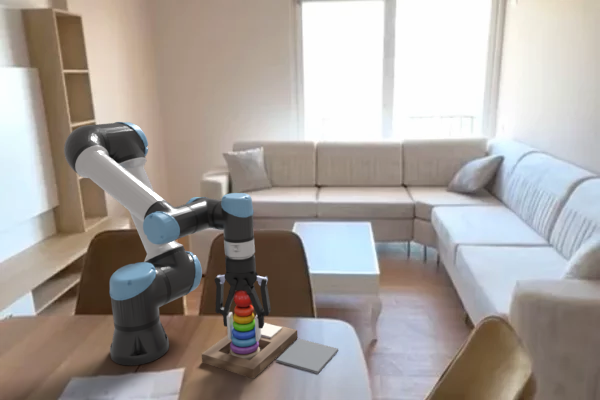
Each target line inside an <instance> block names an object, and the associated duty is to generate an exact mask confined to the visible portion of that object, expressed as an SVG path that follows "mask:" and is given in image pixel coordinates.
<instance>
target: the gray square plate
mask: <svg viewBox="0 0 600 400" xmlns="http://www.w3.org/2000/svg"><path fill="white" fill-rule="evenodd" d="M338 352H339V348H337V347H334V346H328V345H325V344H321V343H318V342H314V341H309V340H306V339H301V338H297V339H296V340H295V341H294V342H293V343H292V344H291V345H290V346H289V347H287V348H286V349H285V350H284V351H283V352H282V353H281V354H280V355H279V356H278V357H277V358H275V360H276V362H277V363H280V364H283V365H288V366H290V367H294V368H297V369H301V370H305V371H307V372H308V371H309V372H312V373H315V374H319V373H320V372H321V370H323V369H324V367H325V366H326V365H327V364H328V363H329V362H330V361H331V360H332V358H333V357H334V356H335V355H336V354H337V353H338Z"/></svg>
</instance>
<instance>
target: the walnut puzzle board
mask: <svg viewBox="0 0 600 400" xmlns="http://www.w3.org/2000/svg"><path fill="white" fill-rule="evenodd" d="M298 339H299V338H298V329H295V328H291V327H287V326H282V325H278V324H274V323H270V322H267V321H264V326H263V328H261V338H260V340H259V341H258V342H259V348H260V352H259V353H258V354H257V355H256V356H254V357H253V358H252V359H251V360H247V359H243V358H240V357H237V356H233V355H230V350H231V348H230V344H231V342H232V340H228V334H226V335H225V336H223V337H222V338H221V339H220V340H218V341H217V342H215V343H214V344H212V345H211V346H210V347H209V348H207V349H206V350H205V351H203V352H202V353H201V363H203V364H206V365H210V366H211V367H215V368H218V369H222V370H225V371H227V372H228V371H229V372H231V373H234V374H237V375H240V376H244V377H248V378H251V379H255V378H256V377H257V376H258V375H259V374H260V373H262V372H263V370H265V368H267V367H268V366H270V364H271V363H272V362H273V361H275V360H276V359H277V358H278V357H280V356H281V355H282V354H283V353H284V352H285V351H286V350H287V349H288V348H289V347H290V346H291V345H293V344H294V343H295V342H296V341H297V340H298Z"/></svg>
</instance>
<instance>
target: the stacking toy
mask: <svg viewBox="0 0 600 400" xmlns="http://www.w3.org/2000/svg"><path fill="white" fill-rule="evenodd" d="M233 301H234V304H235V305H236V306H235V307H234V310H233V311H234V314H233V330H232V334H233V335H232V338H231V340H232V342H231V344H230V348H231V350H230V351H229V354H230V355H233V356H237V357H240V358H243V359H247V360H251V359H252V358H253V357H254V356H256V355H257V354H258V353H259V352H260V351H261V348H260V347H259V342H258V341H256V333H255V313H254V312H255V311H254V310H255V309H254V307H253V304H252V302H251V299H250V297H249V295H248V294H247V292H246V291H243V290H238V291H236V292H235V294H234V298H233Z"/></svg>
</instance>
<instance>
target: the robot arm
mask: <svg viewBox="0 0 600 400" xmlns="http://www.w3.org/2000/svg"><path fill="white" fill-rule="evenodd" d="M148 147H149V142H148V138H147V135H146V134H145V132H144V131H143V130H142V128H141V127H140V126H139V125H137V124H134V123H133V122H128V121H126V122H123V121H116V122H111V123H110V122H109V123H100V124H86V125H82V126H81V125H80V126H79V127H76V129H73V130H72V131H71V132H70V134H69V135H68V136H67V138H66V139H65V143H64V147H63V155H64V157H65V160H66V163H67V164H68V165H69V166H68V167H70V169H72V170H73V172H75V173H76V174H77V175H78V176H79V177H81V178H84V179H89V180H91V181H92V182H93V183H94V184H96V185H97V186H98V187H99V188H101V190H103V191H105V192H106V193H107V194H108V195H109V196H110V197H112V198H113V200H116V202H118V203H119V204H120V205H121V206H122V207H124V208H125V209H127V211H128V213H129V215H130V217H131V219H132V221H133V224H134V226H135V228H136V230H137V234H138V235H139V238H140V240H141V243H142V245H143V247H144V250H145V252H146V256H145V258H144V261H142V262H141V261H140V262H139V261H138V262H135V263H129V264H126V265H124V266H121V267H119V268H118V269H116V271H115V272H113V273H112V275H111V276H110V278H109V297H110V301H111V303H110V304H111V311H112V318H113V325H114V329H113V336H112V341H111V344H110V347H109V353H110V359H111V360H112V361H113V362H114V363H116V364H118V365H122V366H139V365H144V364H149V363H151V362H153V361H156V360H158V359H159V358H161V357H162V356H164V355H165V354H166V353H167V352H168V350H169V348H170V342H169V337H168V335H167V332H166V330H165V328H164V325H163V324H162V322H161V319H160V307H162V306H164V305H167V304H168V303H171V302H173V301H175V300H178V299H179V298H182V297H184V296H186V295H188V294H190V293H191V292H192V291H195V290H196V289H197V288H198V287H199V286H200V284H201V280H202V276H203V268H202V264H201V262H200V260H199V258H198V256H197V255H195V254H194V253H193V252H191V251H187V250H186V249H185V246H184V244H181V243H179V242H177V240H179V239H181V238H184V237H186V236H190V235H194V234H196V233H199V232H202V231H205V230H207V229H214V230H218V231H222V232H223V244H224V254H225V258H224V259H225V274H221V273H220V274H217V276H216V277H215V278H214V282H215V287H216V290H215V291H216V292H215V313H216V314H220V315H222V319H223V326H224V327H226V329H227V335H228V340H231V338H232V335H233V334H232V330H233V328H234V327H233V322H234V319H233V316H234V314H233V311H230V310H231V307H232V303H233V301H234V294H235V292H236V291H238V290H243V291H246V292H247V294H248V295H249V297H250V299H251V302H252V303H251V305H252V306H253V308H254V310H255V311H254V312H255V313H256V315H255V316H254V320H255V333H256V341H259V340H260V338H261V328H263V326H264V322H265V316H269V315H270V313H271V309H272V307H271V301H270V295H269V289H268V282H269V277H268V275H265V276H260V275H259V273H258V272H257V269H256V255H255V253H256V247H255V235H254V234H255V233H254V207H253V205H254V204H253V199H252V196H251V195H250V194H248V193H244V192H231V193H227V194H224V195H223V196H222V197H221V199H217V198H209V197H206V196H201V197H200V196H199V197H198V196H195V197H191V198H189V200H188V201H187V202H186V203H185V204H181V205H179V206H178V205H177V206H174V205H173V204H172V203H170V202H168V201H167V200H166V199H165V198H163V197H162V196H161V195H159V194H158V193H157V192H155V190H154V187H153V185H152V183H151V180H150V178H149V175H148V174H147V173H148V172H147V171H146V169H145V165H146V163H147V158H146V156H147V154H148V152H149V148H148ZM225 281H226V282H227V283H228V285H230V288H229V289H228V294H227V298H226V300H225V305H224V288H225V285H224V284H225ZM256 282H257V283H258V285H259V286H260V295H261V300H260V298H259V295H258V293H257V291H256V287H255V283H256ZM261 301H262V303H261Z"/></svg>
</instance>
